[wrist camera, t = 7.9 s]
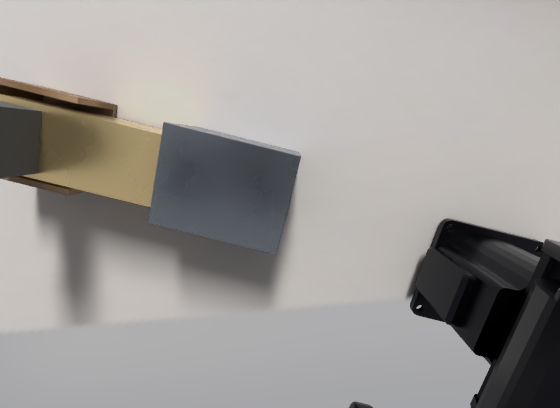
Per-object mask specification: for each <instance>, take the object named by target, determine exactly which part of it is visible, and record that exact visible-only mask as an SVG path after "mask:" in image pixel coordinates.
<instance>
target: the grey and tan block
mask: <svg viewBox="0 0 560 408" xmlns="http://www.w3.org/2000/svg"><path fill="white" fill-rule="evenodd" d="M161 136H162V129H159V128H155V127H151V126H147V125H143V124H139V123H135V122H131V121H127V120H123V119H119V118H115V117H111V116H107V115H103V114H99V113H95V112H91V111H87V110H83V109H79V108H75V107H71V106H67V105H63V104H59V103H54V102H48V101H42V100H35V99H29V98H23V97H16V96H10V95H4V94H0V178H7V177H15V176H25V177H29V178H33V179H37V180H41V181H45V182H50V183H54V184H58V185H62V186H66V187H70V188H74V189H78V190H82V191H86V192H90V193H94V194H98V195H102V196H106V197H110V198H114V199H118V200H123V201H127V202H131V203H135V204H139V205H143V206H147V207H150V206H151V199H152V193H153V187H154V180H155V174H156V168H157V161H158V155H159V149H160V142H161Z"/></svg>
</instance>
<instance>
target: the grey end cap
mask: <svg viewBox="0 0 560 408" xmlns="http://www.w3.org/2000/svg"><path fill="white" fill-rule="evenodd" d="M300 158H301V156H300V154H299V152H296V151H292V150H288V149H284V148H280V147H276V146H272V145H268V144H264V143H260V142H256V141H252V140H247V139H243V138H239V137H235V136H231V135H227V134H223V133H219V132H215V131H211V130H207V129H203V128H199V127H194V126H187V125H180V124H173V123H165V122H164V123H163V129H162V136H161V142H160V149H159V155H158V161H157V168H156V174H155V180H154V187H153V193H152V199H151V206H150V212H149V219H148V223H149V224H153V225H157V226H161V227H165V228H169V229H173V230H177V231H181V232H186V233H190V234H194V235H198V236H202V237H206V238H210V239H214V240H218V241H222V242H226V243H230V244H234V245H238V246H242V247H247V248H251V249H255V250H259V251H263V252H267V253H271V254H275V255H276V252H277V248H278V244H279V240H280V236H281V232H282V229H283V225H284V221H285V217H286V213H287V209H288V205H289V201H290V197H291V193H292V190H293V186H294V182H295V178H296V174H297V170H298V166H299V162H300Z"/></svg>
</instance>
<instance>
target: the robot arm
mask: <svg viewBox="0 0 560 408" xmlns="http://www.w3.org/2000/svg"><path fill="white" fill-rule="evenodd" d="M449 224H451V225H452V228H451V229H450V230H447V226H448V225H449ZM536 247H538V249H537V251H535V248H536ZM415 286H416V290H415V292H414V295H413V298H412V300H411V303H410V308H411V310H412V311H413V313H414V314H416V315H419V316H422V317H426V318H430V319H435V320H438V321H443V322H446V324H449V325H451V326H452V327H453V329H454V330H455V331H456V332H457V333H458V335H459V336H460V337H461V338H462V339H463V340H464V342H465V343H466V344H467V345H468V346H469V347H470V349H471V350H472V351H473V352H474V353H475V354H476V355H479V356H483V357H484V358H485V359H486V360H487V361H488V363H489V364H490V365H491V367H490V368H489V371H488V373H487V375H486V377H485V380H484V382H483V384H482V386H481V388H480V390H479V393H478V394H475V395H474V397H473V399H472V401H471V403H470V404H471V408H560V242H557V241H553V240H549V239H546V240H545V242H544V243H543V242H540V241H538V240H534V239H530V238H526V237H522V236H518V235H514V234H510V233H506V232H502V231H498V230H494V229H490V228H486V227H482V226H478V225H474V224H470V223H466V222H462V221H458V220H454V219H444V220H443V221H442V222H441V223H440V225H439V228H438V230H437V233H436V236H435V238H434V241H433V244H432V246H431V248H430V249H428V250H427V253H426V256H425V259H424V261H423V264H422V267H421V269H420V272H419V275H418V277H417V280H416V283H415ZM418 305H422V306H421V308H419V309H416V307H417V306H418ZM349 408H373V407H371V406H370V405H367V404H363V403H359V402H353V403H352V404H351V405H350V407H349Z"/></svg>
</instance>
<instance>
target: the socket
mask: <svg viewBox="0 0 560 408" xmlns="http://www.w3.org/2000/svg"><path fill="white" fill-rule="evenodd" d="M0 94H4V95H10V96H16V97H23V98H29V99H35V100H42V101H48V102H54V103H59V104H63V105H67V106H71V107H75V108H79V109H83V110H87V111H91V112H95V113H99V114H103V115H107V116H111V117H115V118H116V110H117V105H114V104H110V103H106V102H102V101H98V100H94V99H90V98H86V97H82V96H78V95H74V94H70V93H66V92H62V91H58V90H54V89H50V88H46V87H42V86H38V85H33V84H29V83H24V82H19V81H15V80H10V79H5V78H1V77H0ZM0 179H4V180H8V181H12V182H16V183H20V184H25V185H29V186H33V187H37V188H41V189H45V190H49V191H53V192H57V193H61V194H65V195H72V194H76V193H80V192H84V191H82V190H78V189H74V188H70V187H66V186H62V185H58V184H54V183H50V182H45V181H41V180H37V179H33V178H29V177H25V176H15V177H7V178H0Z"/></svg>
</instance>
